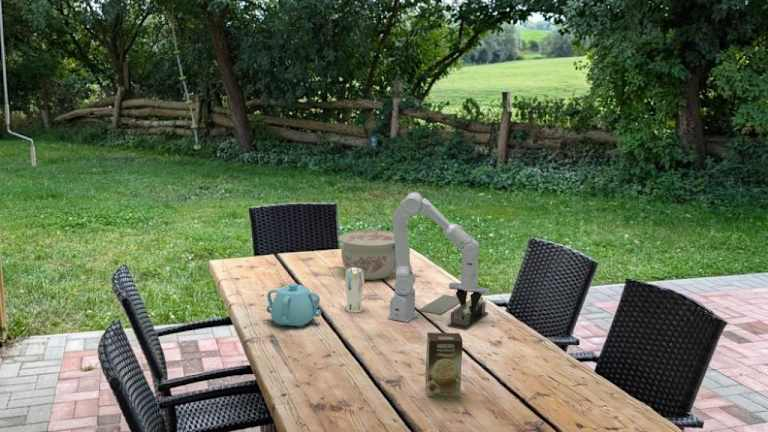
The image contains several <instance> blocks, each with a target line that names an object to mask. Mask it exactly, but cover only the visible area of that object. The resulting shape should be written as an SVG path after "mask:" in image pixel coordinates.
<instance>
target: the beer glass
mask: <svg viewBox="0 0 768 432" xmlns="http://www.w3.org/2000/svg"><path fill="white" fill-rule="evenodd" d="M344 275H345V276H344V288H345V294H346V298H347V299H346V306H345V307H346V308H345V310H346V311H347V312H348V313H360V312H362V311H363V310H364V307H363V302H362V301H363V294H364V287H365V280H364V270H363V269H361V268H348V269H346V268H345V271H344Z"/></svg>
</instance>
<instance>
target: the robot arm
mask: <svg viewBox="0 0 768 432" xmlns="http://www.w3.org/2000/svg"><path fill="white" fill-rule="evenodd" d="M417 213H418V215H419V216H426V217H428V218H430V219H431V220H432V221H433V222H434V223H435V224H436V225H438V226H439V227H440V228H441V229H442V230H444V236H445V237H446V238H447V240H448V241H450V242H451V243H452V244H453V245H454V246H455V247H456V248H457V249H458V250H461V254H462V260H461V275H460V277H461V279H460V283H459V282H450V283H449V284H448V289H449V290H456V292H455V295H456V296H455V297H458V299H459V302H460V303H459V306H461V305H462V304H464V303H465V302H467V298H468V297H467V296H468V292H469V293H471V294H470V295H469V296H470V299H471V313H474V312H475V310H476V307H477V304H478V301H479V299H480V297H482V296H483V295H484V296H489V295H490V292H491V289H490V288H488V287H484V286H481V285H478V283H479V282H478V281H479V253H480V245H479V242H478V241H477V239H476V238H474V237H473V236H472V235H469V234H468V233H467V232H466V231H465V230H464V229H463V226H462V225H461V224H460V225H459V224H457V223H451V222H450V221H449V220H448V219H447V218H446V217H445V216H444V215H443V214H442V213H441V212H440V211H439V210H438V208H436V207H435V206H434V205H433V204H432V203H431V202H430V201H429V200H428V199H427V198H425V197H423V196H422V194H421V193H419V192H417V191H412V192H409V193H408V194H407V195H406V196H404V198H403V199H402V200H401V201H400V203H399V204H398V206H397V208H396V210H395V211H394V213H393V215H392V217H391V220H392V229H393V230H392V231H393V232H392V233H394V242H395V253H396V263H397V268H396V270H395V271H396V272H395V273H396V274H395V277H396V280H395V282H394V289H395V290H394V294H393V296H392V297H391V299H390V303H389V316H387V319H389V320H395V321H399V322H405V323H407V322H410V321H411V320H413V319H415V318H416V317H419V316H420V313H419V312H416V311H415V309H416V289H414V287H413V286H414V284H415V282H416V276H415V273H414V272H413V269H412V264H411V257H410V255H409V249H410V245H409V237H408V235H409V233H408V227H407V223H408V220H409V219H410V218H411V217H412V216H414V215H415V214H417Z"/></svg>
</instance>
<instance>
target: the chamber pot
mask: <svg viewBox="0 0 768 432" xmlns="http://www.w3.org/2000/svg"><path fill="white" fill-rule="evenodd" d="M337 237H338V238H337V240H338V241H339V242H341V244H343V245H342V247H341V253H340V254H341V255H340V256H341V261H342V264H343V266H344V268H345V270H346V269H348V268H361V269H363V270H364V281H379V280H383V279H385V278H388V277H390V276H391V275H392V274H393V273H394V272H395V271H396V270H397V263H396V253H395V242H394V232H392V231H386V230H379V229H377V230H376V229H375V228H372V227H368V228H367V227H366V228H365V229H364V230H354V231H348V232H345V233H342V234H339V236H337ZM410 254H411V252H410V248H409V255H410Z"/></svg>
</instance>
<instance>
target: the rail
mask: <svg viewBox="0 0 768 432" xmlns="http://www.w3.org/2000/svg"><path fill="white" fill-rule="evenodd" d="M483 300H484V298H483V296H481V297H480V299H479V301H478V304H477V307H476V310H477V309H478V308H480V304H482V303H483V302H484V301H483ZM453 311H454V319H460V320H463V319H464V315H465V314H467V313H470V314H471V298H470V299H468V300H466V302H465V303H464V304H462V305H459V306H457V307H455V308H454V309H453Z"/></svg>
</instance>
